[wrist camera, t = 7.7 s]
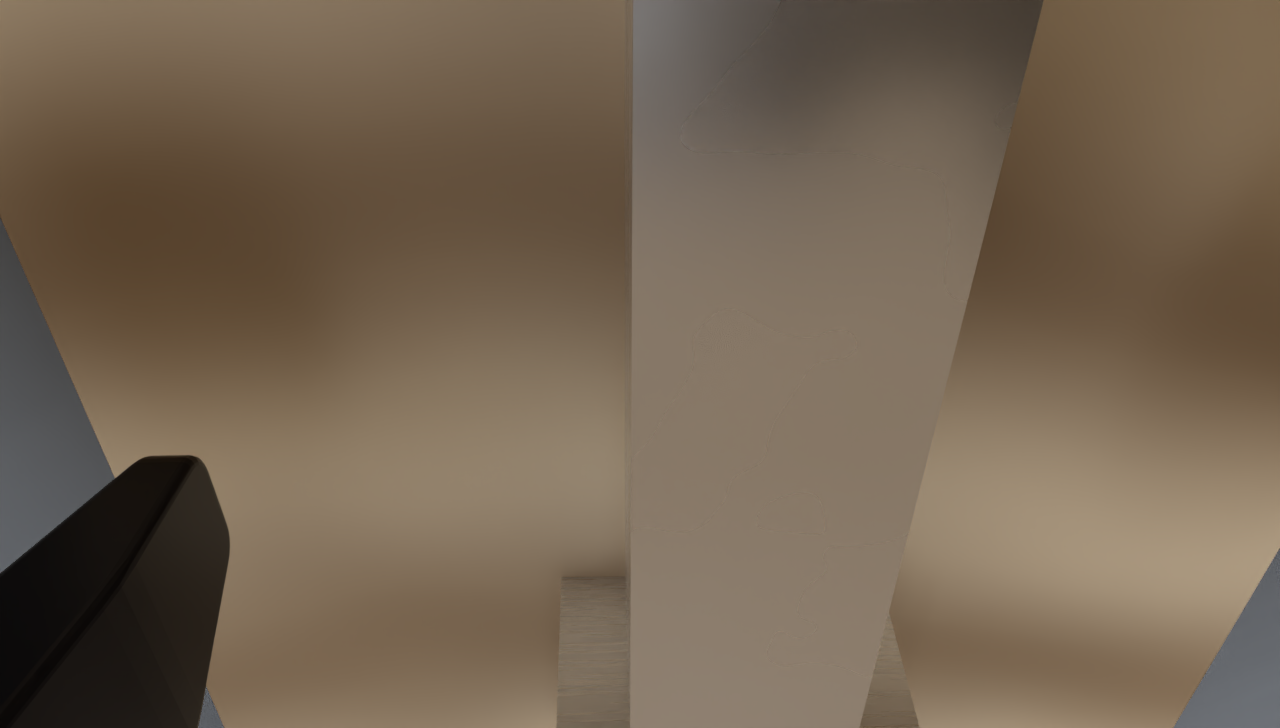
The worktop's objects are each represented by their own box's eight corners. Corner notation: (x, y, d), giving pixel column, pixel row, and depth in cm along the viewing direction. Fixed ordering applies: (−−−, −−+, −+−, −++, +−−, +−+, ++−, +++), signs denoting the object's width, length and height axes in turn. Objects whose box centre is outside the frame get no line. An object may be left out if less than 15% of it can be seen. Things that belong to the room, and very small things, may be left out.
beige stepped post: (845, 713, 15) (881, 888, 13) (570, 719, 15) (566, 897, 13) (1243, -987, 5) (1598, -1259, 3) (463, -1007, 5) (390, -1303, 3)
